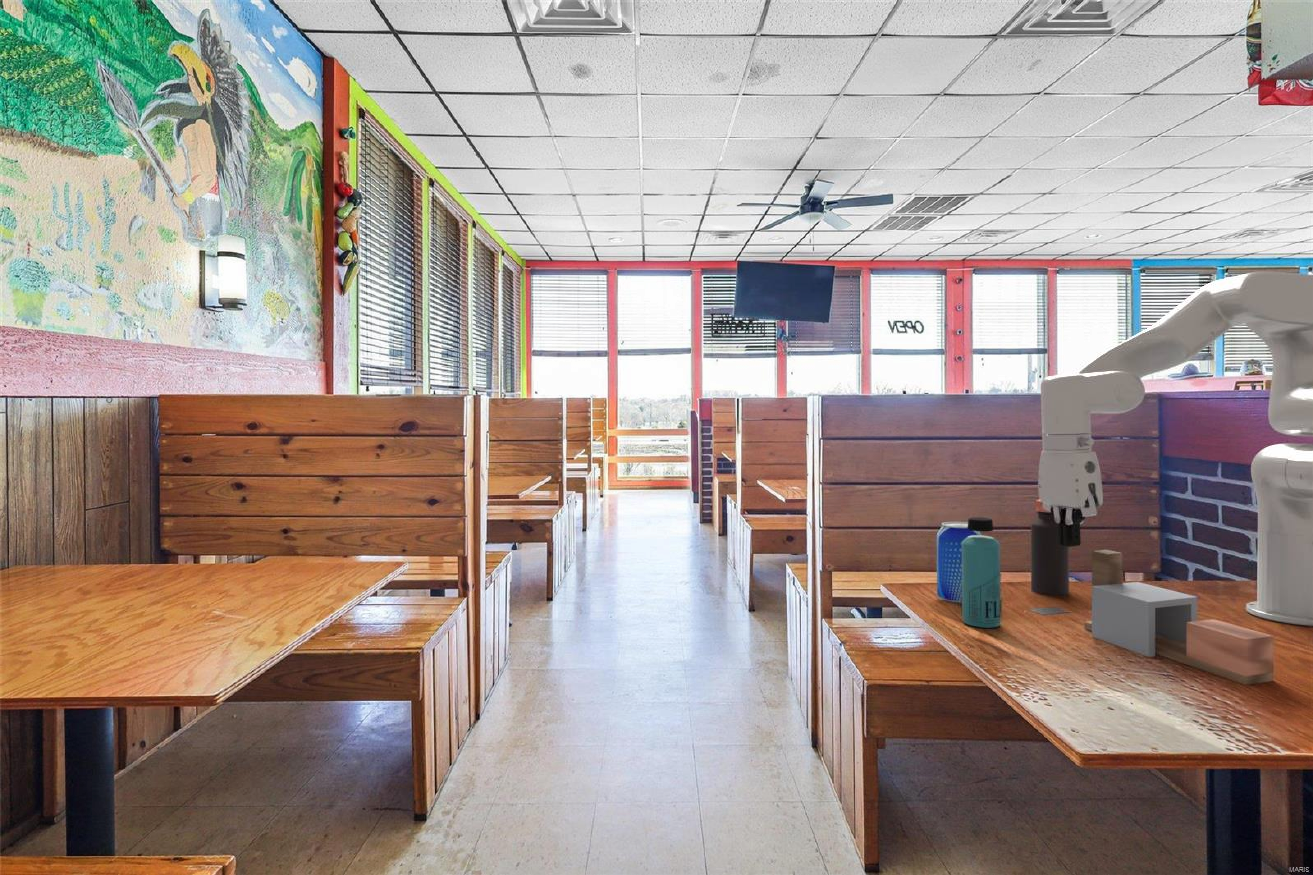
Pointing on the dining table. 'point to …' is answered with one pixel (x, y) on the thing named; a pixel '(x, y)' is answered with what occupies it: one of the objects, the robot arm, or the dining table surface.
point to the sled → (1203, 637)
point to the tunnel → (1140, 615)
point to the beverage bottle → (981, 576)
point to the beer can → (951, 559)
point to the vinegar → (1048, 556)
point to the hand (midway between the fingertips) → (1069, 545)
